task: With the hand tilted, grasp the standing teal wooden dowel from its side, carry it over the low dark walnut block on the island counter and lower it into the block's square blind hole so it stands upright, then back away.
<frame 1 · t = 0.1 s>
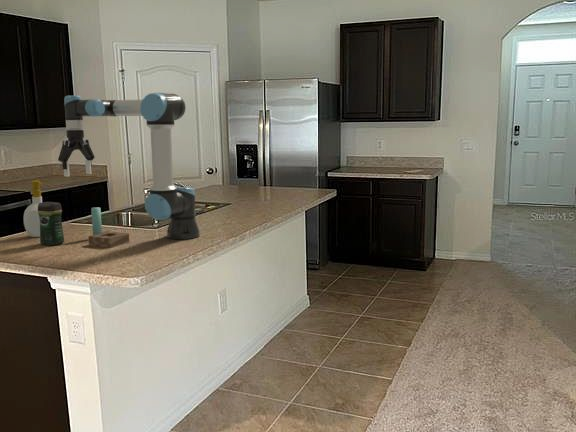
hand: (78, 175, 265), 28 cm above the countertop, tool pointing down, fingers open, 13 cm apart
dowel: (97, 238, 259), on the countertop
bore block: (109, 243, 247), on the countertop
coffee jar: (52, 244, 247), on the countertop
soap bottle: (40, 236, 264), on the countertop
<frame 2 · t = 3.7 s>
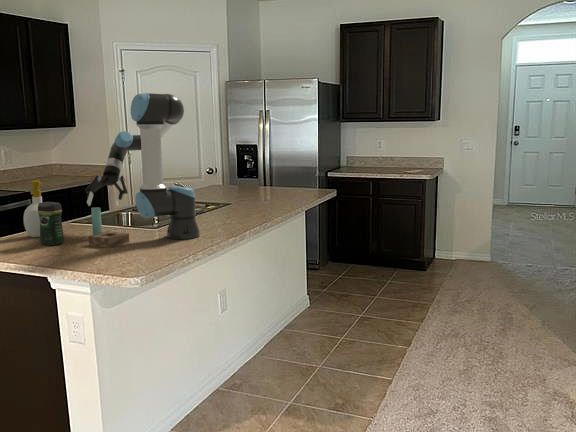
hand: (102, 204, 265), 14 cm above the countertop, tool tilted 45°, fingers open, 13 cm apart
nothing on the countertop moved.
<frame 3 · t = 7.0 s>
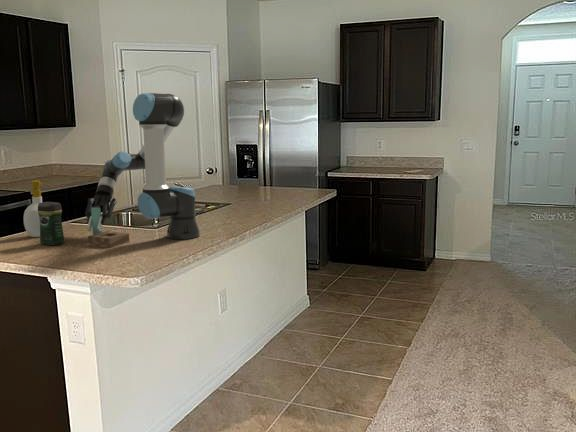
hand: (93, 229, 254), 5 cm above the countertop, tool tilted 45°, fingers closed on dowel, 4 cm apart
dowel: (97, 238, 259), on the countertop, touching gripper
everything else where it was.
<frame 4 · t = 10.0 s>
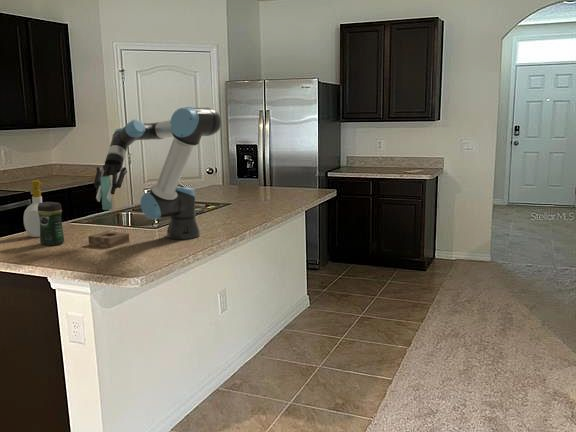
hand: (103, 199, 240), 20 cm above the countertop, tool tilted 45°, fingers closed on dowel, 4 cm apart
dowel: (107, 209, 244), point 15 cm above the countertop, touching gripper
everything else where it was.
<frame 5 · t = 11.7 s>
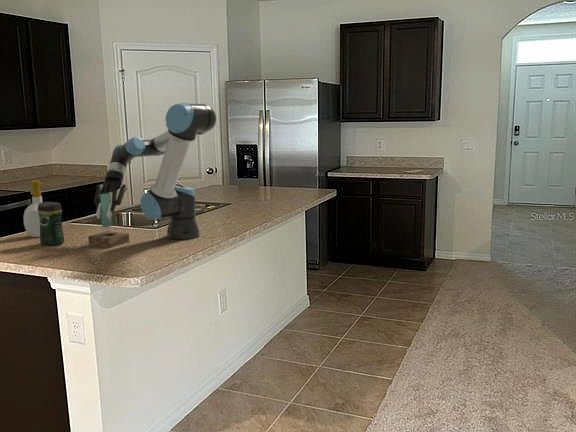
hand: (103, 217, 242), 12 cm above the countertop, tool tilted 45°, fingers closed on dowel, 4 cm apart
dowel: (107, 226, 246), point 8 cm above the countertop, touching gripper
everything else where it was.
when the fingers open (7 cm above the countertop, at t = 13.2 s): dowel drops 1 cm, resting on bore block.
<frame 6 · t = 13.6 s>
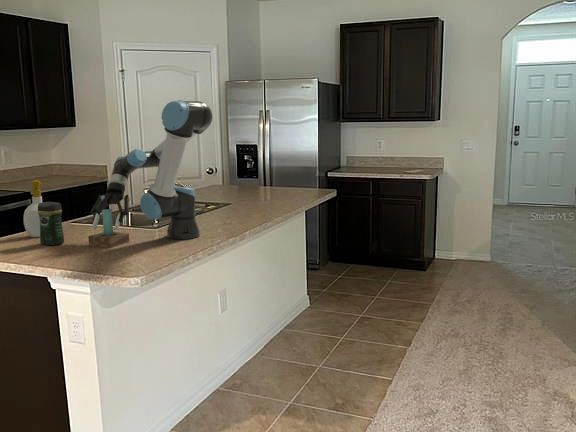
hand: (105, 227, 243), 8 cm above the countertop, tool tilted 45°, fingers open, 9 cm apart
dowel: (109, 241, 247), point 1 cm above the countertop, touching bore block
everything else where it was.
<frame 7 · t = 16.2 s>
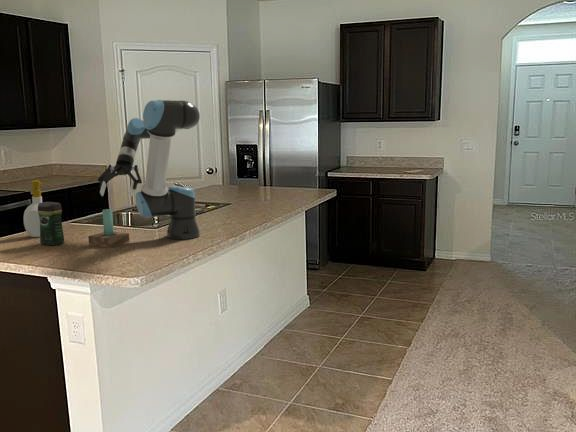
hand: (116, 194, 254), 20 cm above the countertop, tool tilted 45°, fingers open, 13 cm apart
nothing on the countertop moved.
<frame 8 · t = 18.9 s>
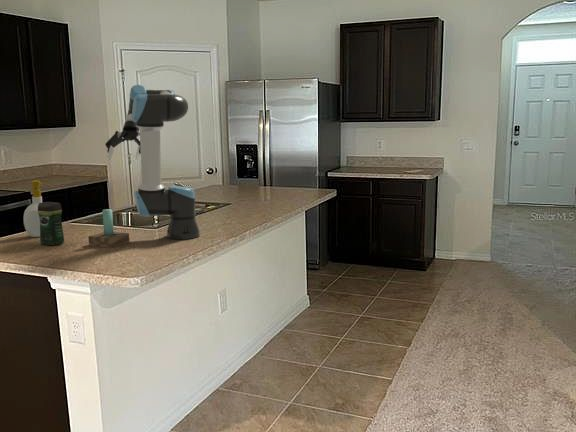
hand: (122, 158, 266), 36 cm above the countertop, tool tilted 45°, fingers open, 13 cm apart
nothing on the countertop moved.
at the end: dowel 0.0 cm off-centre on the bore block, point 1.0 cm above the bore block's base; dowel tilted 0°; the gripper is holding nothing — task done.
